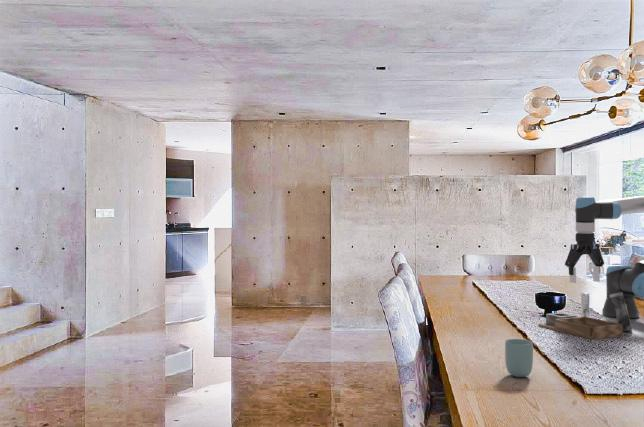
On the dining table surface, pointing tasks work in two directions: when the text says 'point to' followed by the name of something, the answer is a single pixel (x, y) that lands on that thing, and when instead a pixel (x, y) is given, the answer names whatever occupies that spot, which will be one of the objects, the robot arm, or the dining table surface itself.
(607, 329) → the board
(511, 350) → the cup
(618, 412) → the dining table surface
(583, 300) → the rod
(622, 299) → the stone block
